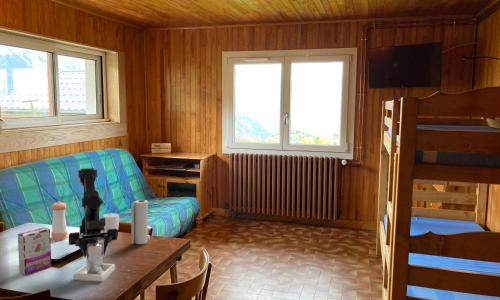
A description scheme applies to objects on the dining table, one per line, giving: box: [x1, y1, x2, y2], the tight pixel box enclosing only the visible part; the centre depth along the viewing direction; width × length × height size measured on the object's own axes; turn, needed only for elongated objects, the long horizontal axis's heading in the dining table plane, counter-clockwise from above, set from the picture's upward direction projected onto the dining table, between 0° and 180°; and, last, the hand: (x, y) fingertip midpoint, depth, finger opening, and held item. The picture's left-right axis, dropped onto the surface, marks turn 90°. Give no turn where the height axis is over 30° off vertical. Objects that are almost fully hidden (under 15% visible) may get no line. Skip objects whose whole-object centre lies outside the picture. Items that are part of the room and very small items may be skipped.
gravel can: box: [86, 241, 104, 275], centre depth 160 cm, size 6×6×12 cm
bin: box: [73, 263, 116, 283], centre depth 160 cm, size 12×12×2 cm
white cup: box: [102, 212, 120, 233], centre depth 211 cm, size 8×8×10 cm
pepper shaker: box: [50, 201, 68, 241], centre depth 201 cm, size 7×7×19 cm
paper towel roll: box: [130, 199, 149, 245], centre depth 198 cm, size 7×6×21 cm
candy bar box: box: [17, 226, 52, 276], centre depth 162 cm, size 11×5×16 cm, turn 148°
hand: (95, 255), depth 158 cm, fingers open, 7 cm apart
